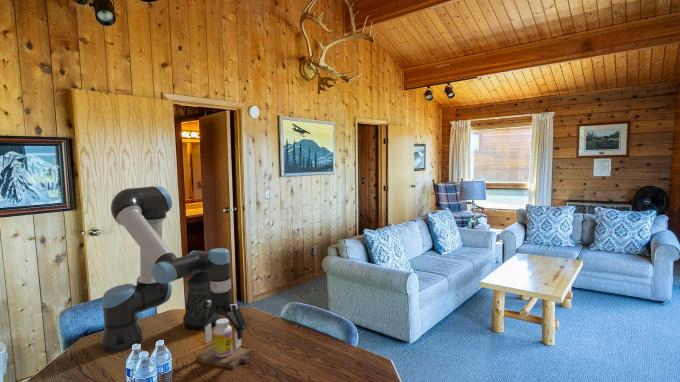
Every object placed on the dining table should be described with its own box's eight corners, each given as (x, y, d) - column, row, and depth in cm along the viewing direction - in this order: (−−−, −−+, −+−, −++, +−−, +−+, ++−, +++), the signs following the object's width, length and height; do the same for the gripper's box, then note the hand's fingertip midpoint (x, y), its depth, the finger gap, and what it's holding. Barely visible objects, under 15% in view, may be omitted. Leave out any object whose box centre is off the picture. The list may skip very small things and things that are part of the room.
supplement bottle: (227, 358, 137) (225, 325, 136) (211, 357, 138) (209, 324, 137) (235, 349, 143) (234, 317, 142) (220, 348, 145) (218, 316, 144)
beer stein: (178, 323, 172) (174, 270, 169) (217, 311, 185) (215, 262, 183) (191, 335, 159) (188, 278, 157) (233, 321, 173) (230, 269, 170)
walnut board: (196, 360, 139) (195, 357, 139) (215, 346, 149) (215, 343, 149) (239, 369, 132) (239, 365, 132) (256, 354, 142) (256, 350, 142)
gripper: (187, 289, 139) (190, 343, 141) (242, 297, 131) (245, 354, 133) (200, 283, 146) (203, 334, 148) (254, 289, 138) (256, 344, 140)
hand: (223, 344), depth 140 cm, fingers open, 13 cm apart
